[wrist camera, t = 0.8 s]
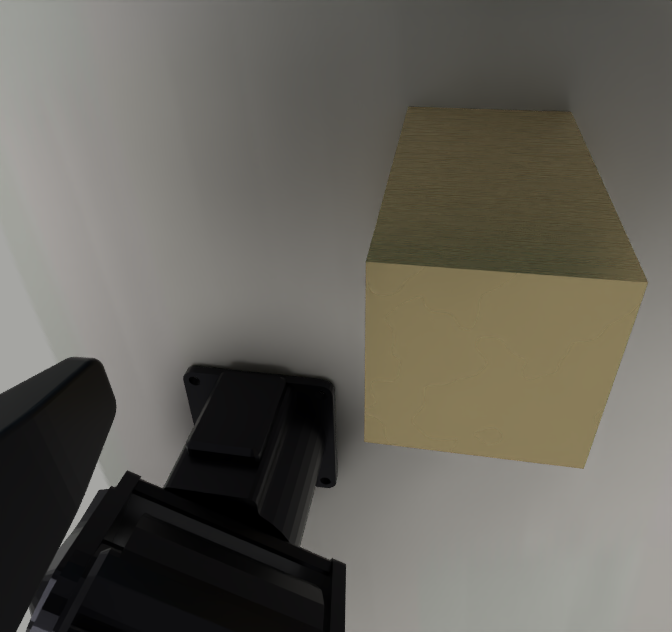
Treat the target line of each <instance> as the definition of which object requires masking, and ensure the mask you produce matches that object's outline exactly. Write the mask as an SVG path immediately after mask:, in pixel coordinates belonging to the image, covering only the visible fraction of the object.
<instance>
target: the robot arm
mask: <svg viewBox="0 0 672 632" xmlns="http://www.w3.org/2000/svg"><path fill="white" fill-rule="evenodd" d="M195 377H197V378H198V379H196V378H195ZM183 380H184V384H185V389H186V393H187V397H188V401H189V405H190V410H191V414H192V418H193V422H194V427H193V429H192V431H191V433H190V435H189V437H188V439H187V441H186V444H185V446H184V448H183V450H182V452H181V454H180V456H179V458H178V460H177V462H176V464H175V466H174V467H173V469H172V471H171V473H170V475H169V477H168V479H167V481H166V483H165V485H164V487H163V488H161V487H158V486H156V485H154V484H151V483H149V482H147V481H144V480H142V479H140V478H141V476H139V475H137V474H135V473H132V472H130V471H128V470H127V471H126V473H125V474H124V476H123V477H122V479H121V480H120V482H119V483H118V485H117V486H116V487H113V486H111V487H110V488H109V489H104V490H99V491H98V493H97V495H96V496H95V498H94V499H93V501H92V503H91V504H90V506H89V507H88V509H87V511H86V512H85V514H84V515H83V517H82V519H81V520H80V522H79V523H78V525H77V526H76V528H75V529H74V531H73V532H72V533H71V535H70V536H69V537H68V538H67V539H66V541H65V542H64V543H63V544H62V546H61V547H60V545H61V543H62V541H63V539H64V537H65V535H66V533H67V531H68V529H69V527H70V525H71V523H72V521H73V519H74V517H75V515H76V513H77V511H78V509H79V506H80V504H81V502H82V499H83V497H84V495H85V492H86V490H87V487H88V484H89V482H90V479H91V477H92V474H93V472H94V469H95V467H96V464H97V461H98V459H99V456H100V454H101V451H102V449H103V446H104V443H105V441H106V438H107V436H108V433H109V431H110V428H111V425H112V423H113V420H114V417H115V414H116V400H115V396H114V394H113V391H112V388H111V385H110V383H109V380H108V377H107V374H106V372H105V369H104V366H103V364H102V363H101V362H100V361H99V360H97V359H95V358H84V357H70V358H67V359H65V360H63V361H61V362H59V363H58V364H56V365H54V366H52V367H50V368H49V369H46V370H44V371H43V372H41V373H39V374H37V375H35V376H33V377H31V378H29V379H28V380H26V381H24V382H22V383H20V384H18V385H16V386H14V387H13V388H11V389H9V390H7V391H5V392H3V393H1V394H0V632H16V631H17V629H18V627H19V625H20V623H21V621H22V619H23V617H24V615H25V613H26V611H27V609H28V607H29V610H30V614H31V619H30V622H29V624H28V627H27V630H26V632H345V592H346V564H345V563H342V562H340V561H338V560H335V559H333V558H332V559H331V560H329V559H326V558H324V557H322V556H319V555H317V554H315V553H312V552H310V551H308V550H305V549H303V548H301V547H300V544H301V541H302V537H303V533H304V529H305V525H306V521H307V517H308V513H309V509H310V505H311V501H312V497H313V493H314V490H315V486H316V487H324V488H331V487H333V486H335V484H336V480H337V446H336V416H335V389H334V386H333V385H332V384H331V383H330V382H328V381H326V380H321V379H312V378H303V377H293V376H284V375H275V374H265V373H256V372H247V371H237V370H228V369H219V368H209V367H200V366H192V367H189V368H188V370H187V371H186V373H185V375H184V377H183ZM319 391H324V392H325V393H321V392H319ZM59 547H60V548H59Z"/></svg>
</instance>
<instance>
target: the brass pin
mask: <svg viewBox="0 0 672 632" xmlns="http://www.w3.org/2000/svg"><path fill="white" fill-rule="evenodd" d="M647 284H648V282H647V279H646V277H645V275H644V273H643V270H642V268H641V266H640V264H639V262H638V259H637V257H636V255H635V253H634V250H633V248H632V246H631V244H630V242H629V239H628V237H627V235H626V233H625V231H624V228H623V226H622V224H621V222H620V219H619V217H618V215H617V213H616V211H615V208H614V206H613V204H612V202H611V199H610V197H609V195H608V193H607V191H606V188H605V186H604V184H603V182H602V179H601V177H600V175H599V173H598V171H597V168H596V166H595V164H594V162H593V160H592V157H591V155H590V153H589V151H588V148H587V146H586V144H585V142H584V140H583V137H582V135H581V133H580V131H579V128H578V126H577V124H576V122H575V120H574V117H573V115H572V113H571V112H562V111H530V110H498V109H466V108H434V107H408V109H407V113H406V116H405V120H404V124H403V127H402V131H401V135H400V139H399V142H398V146H397V150H396V153H395V157H394V161H393V164H392V168H391V172H390V175H389V179H388V183H387V186H386V190H385V194H384V197H383V201H382V205H381V208H380V212H379V216H378V219H377V223H376V227H375V230H374V234H373V238H372V241H371V245H370V249H369V252H368V256H367V260H366V310H365V427H364V442H370V443H378V444H386V445H394V446H402V447H411V448H419V449H427V450H435V451H443V452H451V453H460V454H468V455H476V456H484V457H492V458H500V459H508V460H517V461H525V462H533V463H541V464H549V465H557V466H566V467H574V468H582V469H584V466H585V463H586V460H587V458H588V455H589V452H590V449H591V446H592V443H593V440H594V437H595V434H596V432H597V429H598V426H599V423H600V420H601V417H602V414H603V411H604V408H605V406H606V403H607V400H608V397H609V394H610V391H611V388H612V385H613V382H614V379H615V377H616V374H617V371H618V368H619V365H620V362H621V359H622V356H623V353H624V351H625V348H626V345H627V342H628V339H629V336H630V333H631V330H632V327H633V325H634V322H635V319H636V316H637V313H638V310H639V307H640V304H641V301H642V299H643V296H644V293H645V290H646V287H647Z"/></svg>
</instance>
